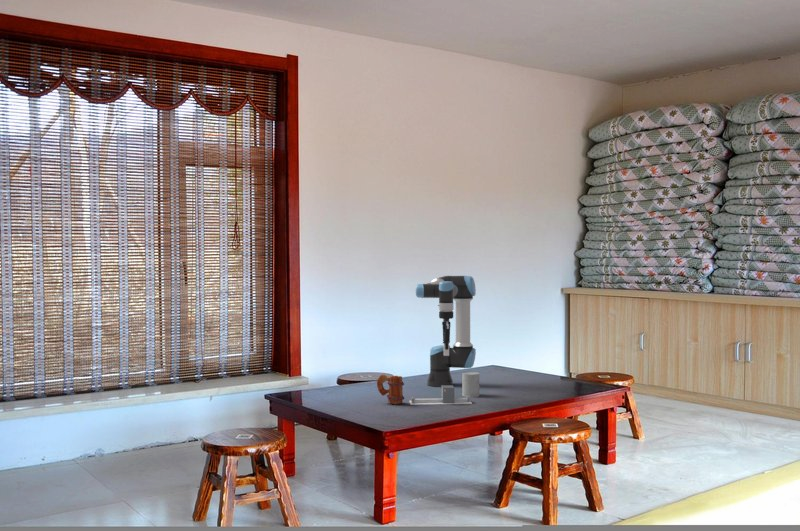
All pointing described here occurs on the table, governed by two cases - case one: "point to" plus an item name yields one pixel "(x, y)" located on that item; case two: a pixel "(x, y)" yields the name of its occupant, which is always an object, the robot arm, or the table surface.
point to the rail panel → (438, 401)
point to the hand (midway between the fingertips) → (446, 355)
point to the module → (448, 393)
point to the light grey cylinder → (470, 384)
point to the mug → (391, 388)
